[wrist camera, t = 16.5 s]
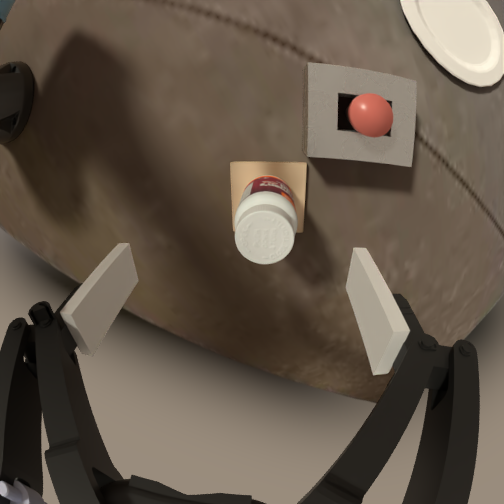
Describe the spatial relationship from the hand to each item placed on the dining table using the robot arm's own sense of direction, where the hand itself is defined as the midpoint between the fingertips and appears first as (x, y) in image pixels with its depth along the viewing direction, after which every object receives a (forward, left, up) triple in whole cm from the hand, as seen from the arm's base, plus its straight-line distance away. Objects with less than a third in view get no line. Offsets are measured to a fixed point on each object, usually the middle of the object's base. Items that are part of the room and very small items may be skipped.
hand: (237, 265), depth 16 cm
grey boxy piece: (+11, +9, -20) cm, 25 cm away
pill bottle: (+1, -2, -20) cm, 20 cm away
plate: (+28, +27, -21) cm, 44 cm away
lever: (+11, +9, -19) cm, 24 cm away
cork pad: (+1, -2, -20) cm, 20 cm away
